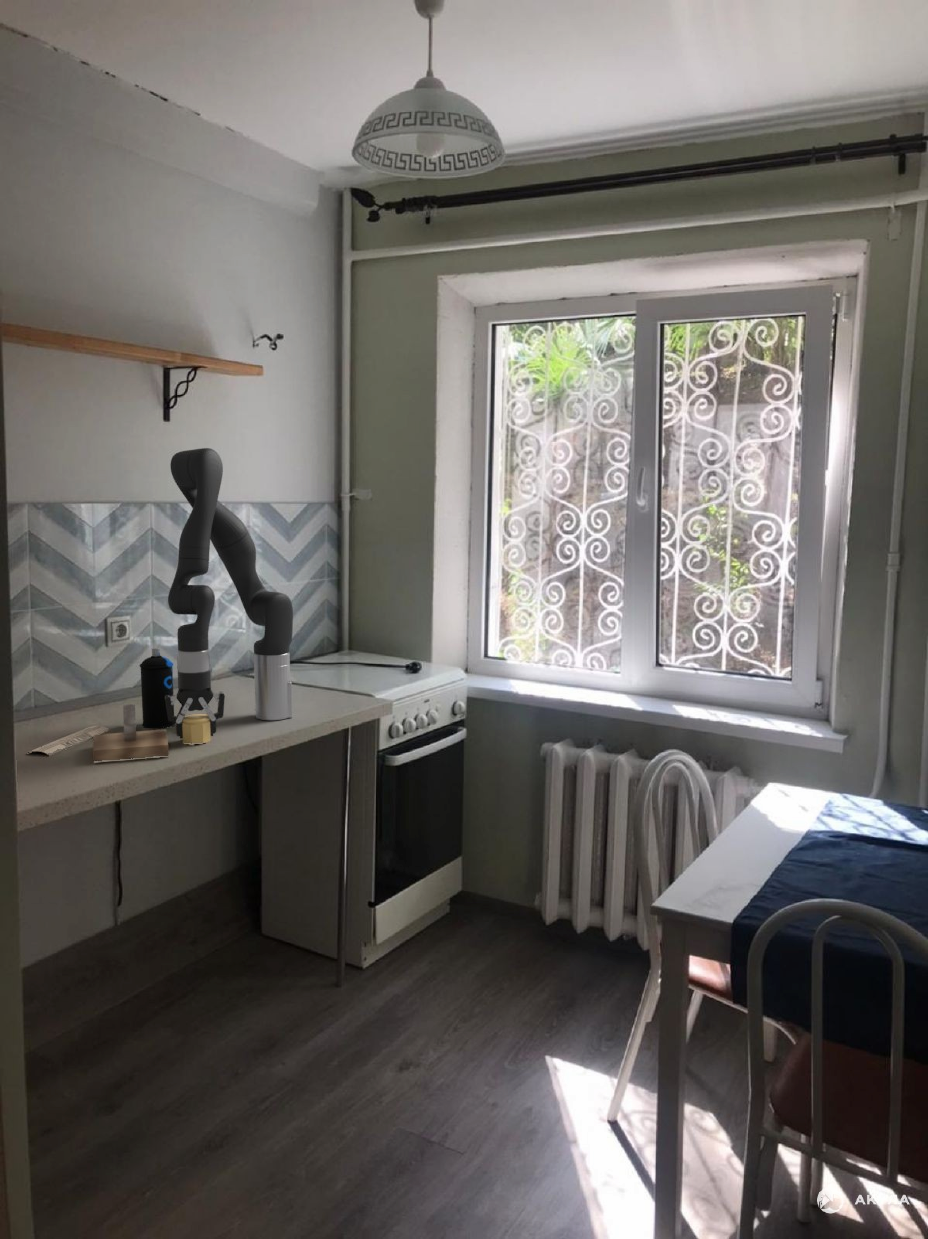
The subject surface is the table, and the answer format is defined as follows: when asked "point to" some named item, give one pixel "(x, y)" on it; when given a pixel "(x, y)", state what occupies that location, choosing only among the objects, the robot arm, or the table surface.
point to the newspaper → (71, 739)
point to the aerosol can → (156, 690)
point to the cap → (196, 728)
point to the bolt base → (130, 741)
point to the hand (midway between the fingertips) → (196, 736)
